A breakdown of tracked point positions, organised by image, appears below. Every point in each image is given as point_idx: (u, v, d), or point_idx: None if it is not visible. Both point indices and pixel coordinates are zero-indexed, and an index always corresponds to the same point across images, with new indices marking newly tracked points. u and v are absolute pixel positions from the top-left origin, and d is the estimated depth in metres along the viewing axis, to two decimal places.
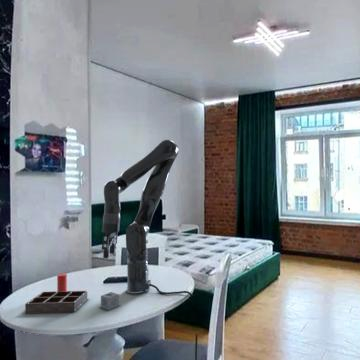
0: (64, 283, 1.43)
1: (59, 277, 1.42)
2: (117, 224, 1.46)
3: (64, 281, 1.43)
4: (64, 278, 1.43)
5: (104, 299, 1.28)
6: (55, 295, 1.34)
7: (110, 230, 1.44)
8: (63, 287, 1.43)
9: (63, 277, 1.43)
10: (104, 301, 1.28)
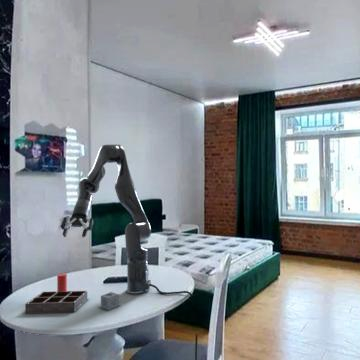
0: (64, 283, 1.43)
1: (59, 277, 1.42)
2: (76, 207, 1.60)
3: (64, 281, 1.43)
4: (64, 278, 1.43)
5: (104, 299, 1.28)
6: (55, 295, 1.34)
7: None
8: (63, 287, 1.43)
9: (63, 277, 1.43)
10: (104, 301, 1.28)
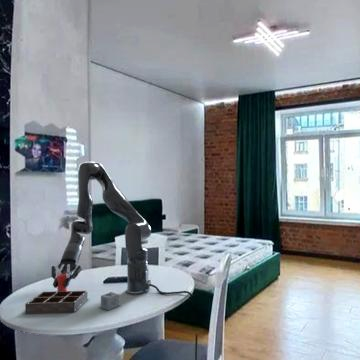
0: None
1: (59, 277, 1.42)
2: (65, 251, 1.51)
3: (64, 281, 1.43)
4: (64, 278, 1.43)
5: (104, 299, 1.28)
6: (55, 295, 1.34)
7: None
8: (63, 287, 1.43)
9: (63, 277, 1.43)
10: (104, 301, 1.28)
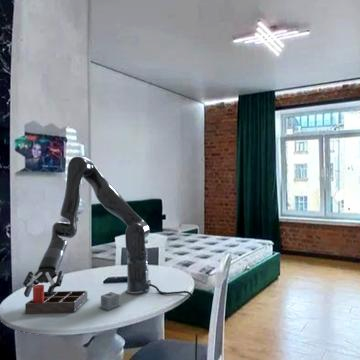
0: (41, 296, 1.26)
1: (35, 289, 1.25)
2: (44, 258, 1.34)
3: (41, 294, 1.26)
4: (41, 290, 1.26)
5: (104, 299, 1.28)
6: (55, 295, 1.34)
7: None
8: (39, 300, 1.26)
9: (39, 289, 1.26)
10: (104, 301, 1.28)
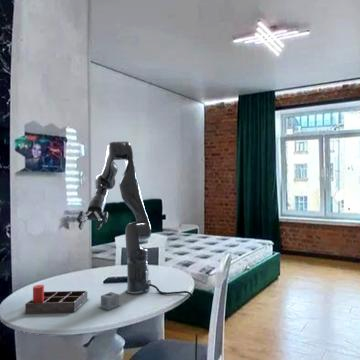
0: (41, 296, 1.26)
1: (35, 289, 1.25)
2: (92, 201, 1.63)
3: (41, 294, 1.26)
4: (41, 290, 1.26)
5: (104, 299, 1.28)
6: (55, 295, 1.34)
7: (88, 207, 1.63)
8: (39, 300, 1.26)
9: (39, 289, 1.26)
10: (104, 301, 1.28)
